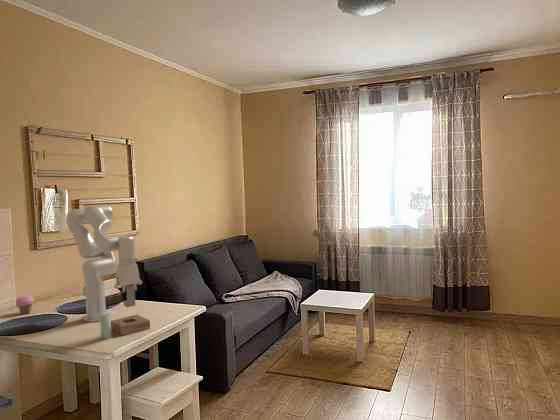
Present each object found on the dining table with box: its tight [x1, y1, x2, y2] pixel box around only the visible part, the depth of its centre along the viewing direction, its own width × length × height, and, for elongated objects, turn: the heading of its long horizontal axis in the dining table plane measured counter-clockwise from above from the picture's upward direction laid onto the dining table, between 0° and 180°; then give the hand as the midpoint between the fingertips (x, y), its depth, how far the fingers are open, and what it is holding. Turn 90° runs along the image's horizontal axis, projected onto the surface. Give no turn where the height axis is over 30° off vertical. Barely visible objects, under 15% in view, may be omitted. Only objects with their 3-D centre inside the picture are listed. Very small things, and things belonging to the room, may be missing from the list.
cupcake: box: [15, 295, 35, 315], centre depth 236 cm, size 9×9×10 cm
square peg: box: [123, 285, 136, 308], centre depth 204 cm, size 4×4×10 cm
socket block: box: [111, 314, 151, 337], centre depth 205 cm, size 14×14×4 cm
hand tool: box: [105, 293, 124, 307], centre depth 248 cm, size 23×5×6 cm, turn 152°
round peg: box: [99, 314, 112, 340], centre depth 193 cm, size 4×4×10 cm
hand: (129, 298), depth 204 cm, fingers closed on square peg, 4 cm apart
